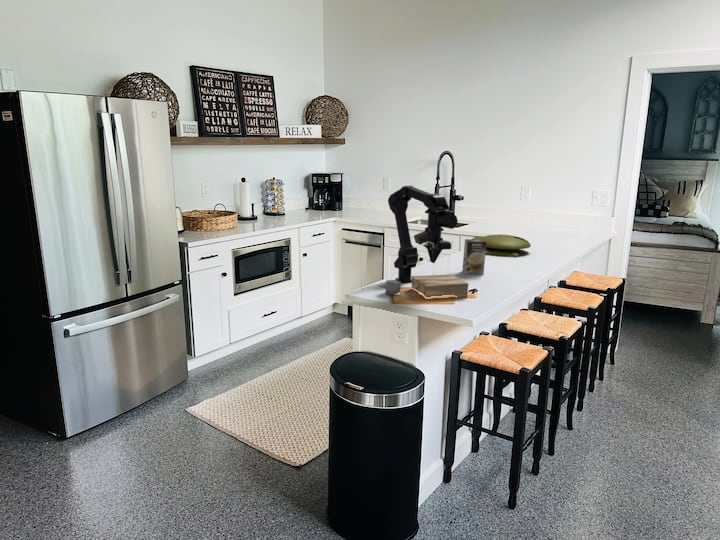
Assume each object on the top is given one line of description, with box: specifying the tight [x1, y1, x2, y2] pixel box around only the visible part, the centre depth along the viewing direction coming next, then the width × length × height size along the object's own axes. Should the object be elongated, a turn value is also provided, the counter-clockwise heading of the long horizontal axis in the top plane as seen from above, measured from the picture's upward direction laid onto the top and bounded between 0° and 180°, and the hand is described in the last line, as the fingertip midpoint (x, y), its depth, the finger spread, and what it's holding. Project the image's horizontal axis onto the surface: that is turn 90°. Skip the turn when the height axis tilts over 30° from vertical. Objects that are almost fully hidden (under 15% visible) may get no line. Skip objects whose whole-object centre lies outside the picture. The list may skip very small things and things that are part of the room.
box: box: [411, 278, 469, 299], centre depth 219 cm, size 16×18×5 cm
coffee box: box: [462, 238, 487, 276], centre depth 254 cm, size 9×6×16 cm
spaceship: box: [472, 234, 532, 258], centre depth 311 cm, size 35×31×10 cm
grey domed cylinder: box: [385, 279, 402, 296], centre depth 216 cm, size 6×6×5 cm
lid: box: [411, 273, 469, 287], centre depth 218 cm, size 16×18×1 cm
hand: (432, 262), depth 221 cm, fingers closed
